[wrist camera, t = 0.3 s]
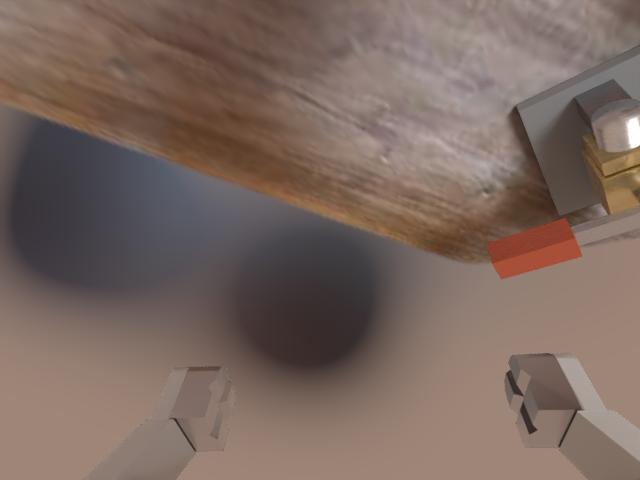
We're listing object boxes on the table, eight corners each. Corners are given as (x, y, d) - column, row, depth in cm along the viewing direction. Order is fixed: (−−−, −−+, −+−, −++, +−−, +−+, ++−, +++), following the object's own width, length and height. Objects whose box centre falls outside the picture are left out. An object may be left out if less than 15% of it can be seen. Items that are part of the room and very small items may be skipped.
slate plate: (667, 31, 38) (675, 37, 37) (682, 165, 48) (689, 172, 47) (515, 105, 45) (519, 111, 44) (556, 209, 54) (559, 216, 53)
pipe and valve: (626, 69, 39) (686, 125, 32) (647, 180, 48) (698, 245, 40) (560, 100, 42) (600, 158, 35) (591, 199, 51) (628, 264, 43)
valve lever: (665, 184, 36) (683, 205, 34) (669, 205, 38) (685, 226, 36) (487, 243, 44) (492, 263, 42) (496, 259, 46) (501, 279, 44)
